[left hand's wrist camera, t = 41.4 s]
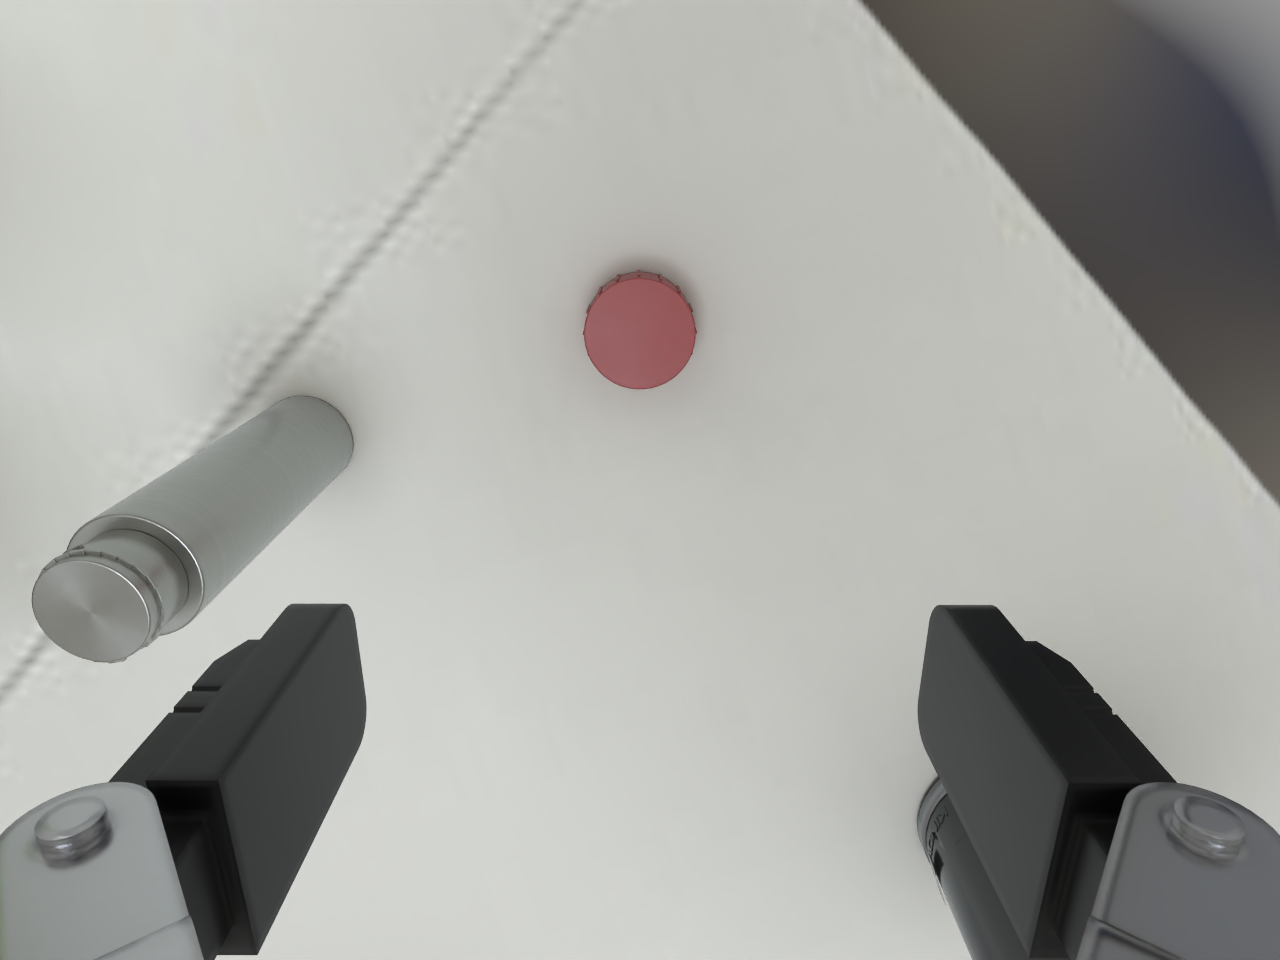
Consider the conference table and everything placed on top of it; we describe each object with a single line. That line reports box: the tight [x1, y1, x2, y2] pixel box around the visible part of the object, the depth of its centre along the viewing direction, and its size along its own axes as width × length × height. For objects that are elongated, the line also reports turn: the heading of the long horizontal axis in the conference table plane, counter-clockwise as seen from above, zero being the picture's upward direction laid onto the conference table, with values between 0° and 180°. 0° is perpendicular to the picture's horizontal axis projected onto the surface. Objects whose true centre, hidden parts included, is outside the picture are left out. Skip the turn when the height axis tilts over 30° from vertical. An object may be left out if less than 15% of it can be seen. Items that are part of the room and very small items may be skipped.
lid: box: [583, 270, 697, 389], centre depth 35 cm, size 5×5×2 cm
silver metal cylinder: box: [32, 396, 353, 663], centre depth 31 cm, size 4×4×16 cm
